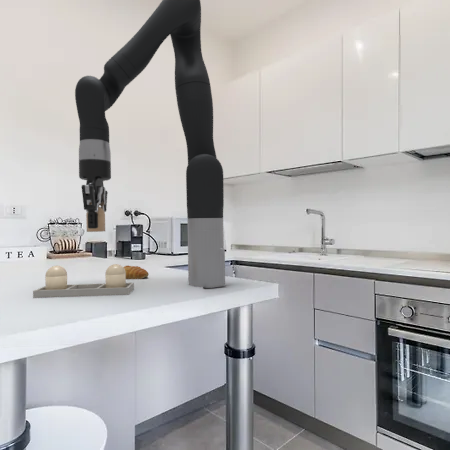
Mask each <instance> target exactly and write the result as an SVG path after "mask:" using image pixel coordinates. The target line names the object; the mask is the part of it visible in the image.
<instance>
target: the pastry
mask: <svg viewBox="0 0 450 450" xmlns="http://www.w3.org/2000/svg"><path fill="white" fill-rule="evenodd" d="M122 267H123V268H124V269H125V272H126V280H139V279H140V280H142V279H145V278H146V279H147V278H148V277H149V272H148V271H147V270H146V269H144V268H142V267H140V266H137V265H135V266H133V265H125V266H122Z"/></svg>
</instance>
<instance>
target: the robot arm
mask: <svg viewBox="0 0 450 450" xmlns="http://www.w3.org/2000/svg"><path fill="white" fill-rule="evenodd" d="M201 5H202V4H201V0H161V2H160V3H159V4H158V6H157V7H156V9H155V10H154V11H153V12H152V13H151V15H150V16H149V18H147V20H146V21H145V22H144V24H142V26H141V27H140V28H139V29H138V30H137V32H136V33H135V34H133V36H132V37H131V38H130V39H129V40H128V41H127V42H126V43H125V44H124V45H123V46H122V47H121V48H120V49H119V50H117V52H116V53H115V54H113V55H112V56H111V57H110V58H109V59H108V60H106V62H105V64H104V65H103V74H102V75H101V76H100V78H97V77H95V76H93V75H85V76H82V77H80V79H79V80H78V81H77V82H76V85H75V90H74V98H75V105H76V111H77V115H78V121H79V145H78V146H79V147H78V178H79V179H80V180H83V181H86V182H85V183H86V184H81V192H82V193H81V194H82V202H83V209H84V211H86V213H88V228H90V229H91V228H98V207H101V208H102V209H103V210H104V212H105V213H106V212H107V203H108V193H109V192H108V190H106V187H105V186H104V182H105V181H109V180H111V179H112V165H111V164H112V163H111V161H112V160H111V157H112V156H111V155H112V153H111V147H110V127H109V122H108V120H107V119H106V118H107V117H106V111H108V110H109V109H111V108H112V106H114V104H115V103H116V102H117V100H118V99H119V98H120V96H121V95H122V94H123V91H124V90H125V88H126V87H127V86H128V85H130V84H131V83H132V82H133V81H134V79H136V78H137V77H138V76H140V74H142V72H143V71H144V70H145V69H146V67H147V66H148V65H149V64H150V62H151V61H152V59H153V57H154V56H155V54H156V52H157V51H158V50H159V48H160V46H161V45H162V44H163V42H164V41H165V40H166V39H167V38H168V37H169V36H170V38H171V44H172V47H173V52H174V53H173V55H174V88H175V96H176V103H177V105H176V106H177V109H178V115H179V119H180V123H181V126H182V130H183V133H184V134H183V135H184V138H185V142H186V149H187V151H186V152H187V167H186V170H185V179H186V180H185V187H186V190H185V191H186V192H185V193H186V212H187V213H186V214H187V218H186V221H187V275H188V278H187V279H188V281H187V283H188V286H190V287H196V288H197V287H198V288H203V289H213V288H221V287H226V256H225V255H226V251H225V247H224V246H225V244H224V242H225V241H224V240H225V239H224V203H225V202H224V200H225V199H224V169H223V166H222V163H221V162H220V160H219V159H218V158H217V153H216V149H215V143H214V104H213V96H212V95H213V94H212V88H211V87H212V86H211V83H210V78H209V77H210V76H209V73H208V70H207V66H206V64H205V60H204V58H203V52H202V39H201V29H202V28H201V26H202V6H201Z"/></svg>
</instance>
